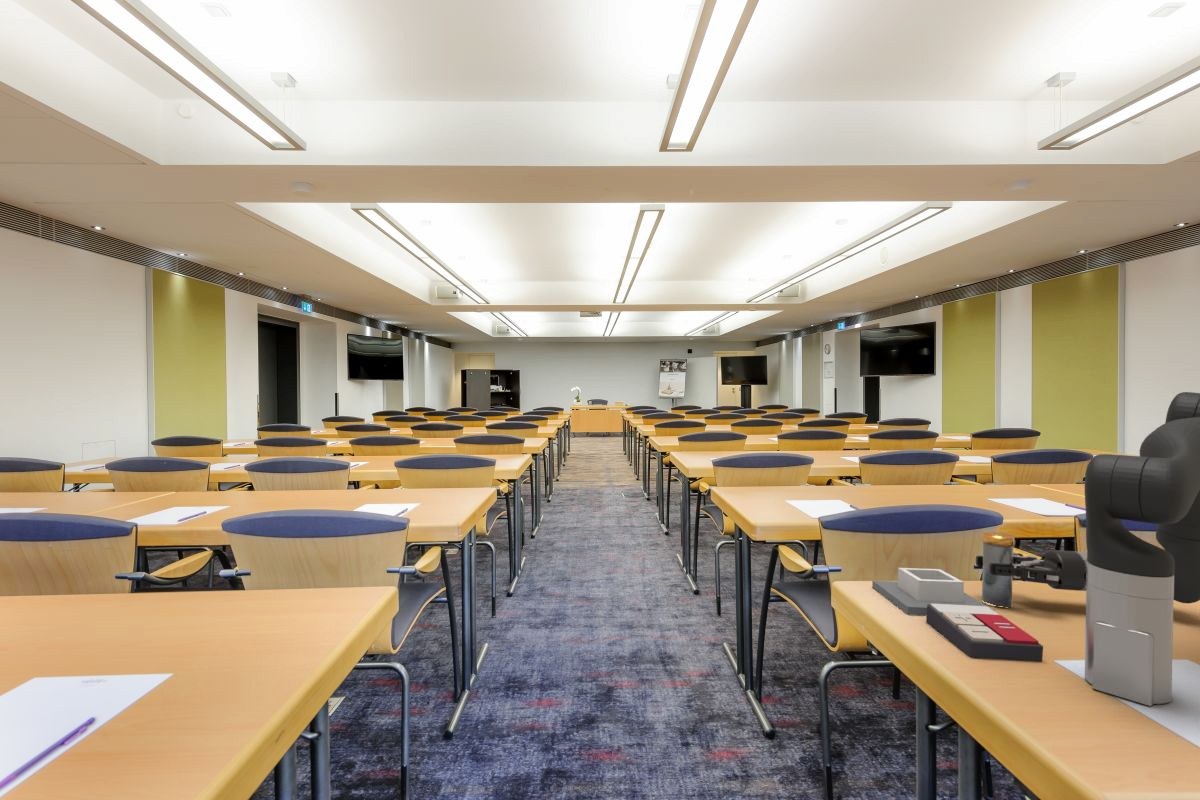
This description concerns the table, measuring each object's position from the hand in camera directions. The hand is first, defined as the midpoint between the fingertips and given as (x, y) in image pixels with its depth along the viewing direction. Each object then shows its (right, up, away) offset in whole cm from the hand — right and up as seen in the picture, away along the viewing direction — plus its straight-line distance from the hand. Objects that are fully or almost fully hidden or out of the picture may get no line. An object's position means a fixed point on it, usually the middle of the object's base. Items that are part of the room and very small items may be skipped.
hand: (983, 565), depth 117 cm
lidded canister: (+2, -8, 0) cm, 8 cm away
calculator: (-13, -8, -19) cm, 24 cm away
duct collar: (-11, -7, 0) cm, 13 cm away
